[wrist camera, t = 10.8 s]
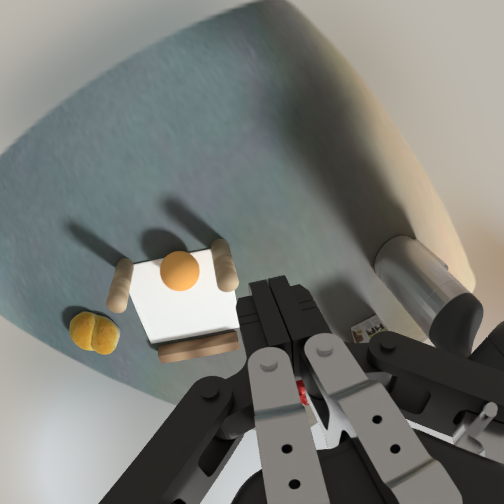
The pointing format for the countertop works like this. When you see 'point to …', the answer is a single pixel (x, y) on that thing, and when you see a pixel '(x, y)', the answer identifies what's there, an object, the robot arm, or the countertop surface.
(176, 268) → the ball
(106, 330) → the bread roll
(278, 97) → the countertop surface
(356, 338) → the coffee box
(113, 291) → the post
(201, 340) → the stopper rail
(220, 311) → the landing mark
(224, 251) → the post
